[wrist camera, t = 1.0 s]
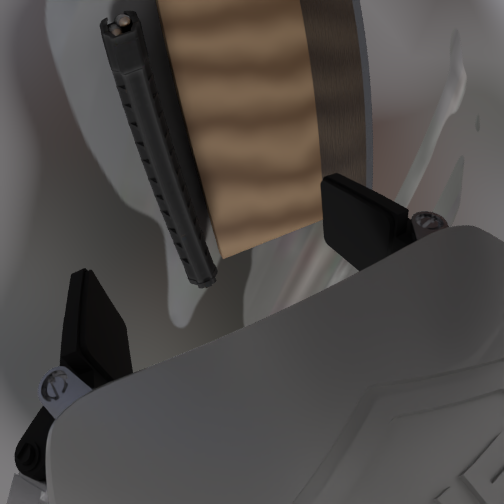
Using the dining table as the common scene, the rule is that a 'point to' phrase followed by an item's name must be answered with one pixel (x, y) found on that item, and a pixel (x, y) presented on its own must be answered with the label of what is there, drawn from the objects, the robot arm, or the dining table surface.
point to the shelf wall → (341, 87)
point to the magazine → (156, 143)
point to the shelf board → (247, 114)
